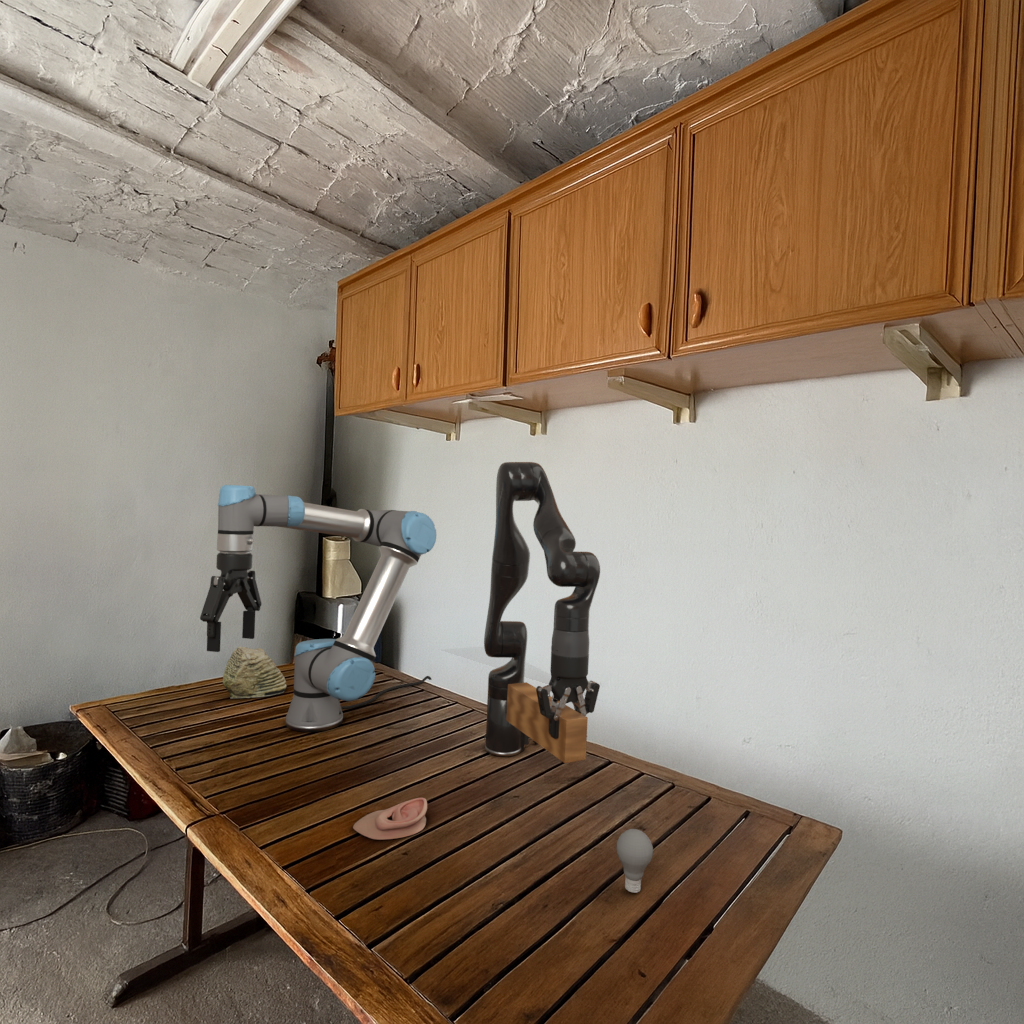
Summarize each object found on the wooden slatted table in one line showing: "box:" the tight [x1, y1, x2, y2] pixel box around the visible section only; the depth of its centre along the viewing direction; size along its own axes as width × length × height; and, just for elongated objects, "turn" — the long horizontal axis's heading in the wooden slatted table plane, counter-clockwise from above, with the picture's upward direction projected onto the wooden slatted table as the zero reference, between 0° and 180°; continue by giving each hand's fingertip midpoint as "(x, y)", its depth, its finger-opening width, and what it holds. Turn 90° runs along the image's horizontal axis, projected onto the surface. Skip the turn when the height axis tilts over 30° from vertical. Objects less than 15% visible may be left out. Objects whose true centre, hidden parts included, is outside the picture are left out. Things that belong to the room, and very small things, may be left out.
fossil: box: [222, 646, 288, 699], centre depth 198 cm, size 9×18×15 cm, turn 132°
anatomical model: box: [352, 797, 428, 841], centre depth 123 cm, size 13×4×12 cm
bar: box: [506, 681, 589, 764], centre depth 135 cm, size 25×5×8 cm, turn 27°
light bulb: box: [615, 828, 654, 894], centre depth 106 cm, size 6×6×10 cm
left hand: (231, 644), depth 146 cm, fingers open, 13 cm apart
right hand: (566, 735), depth 127 cm, fingers closed on bar, 5 cm apart
